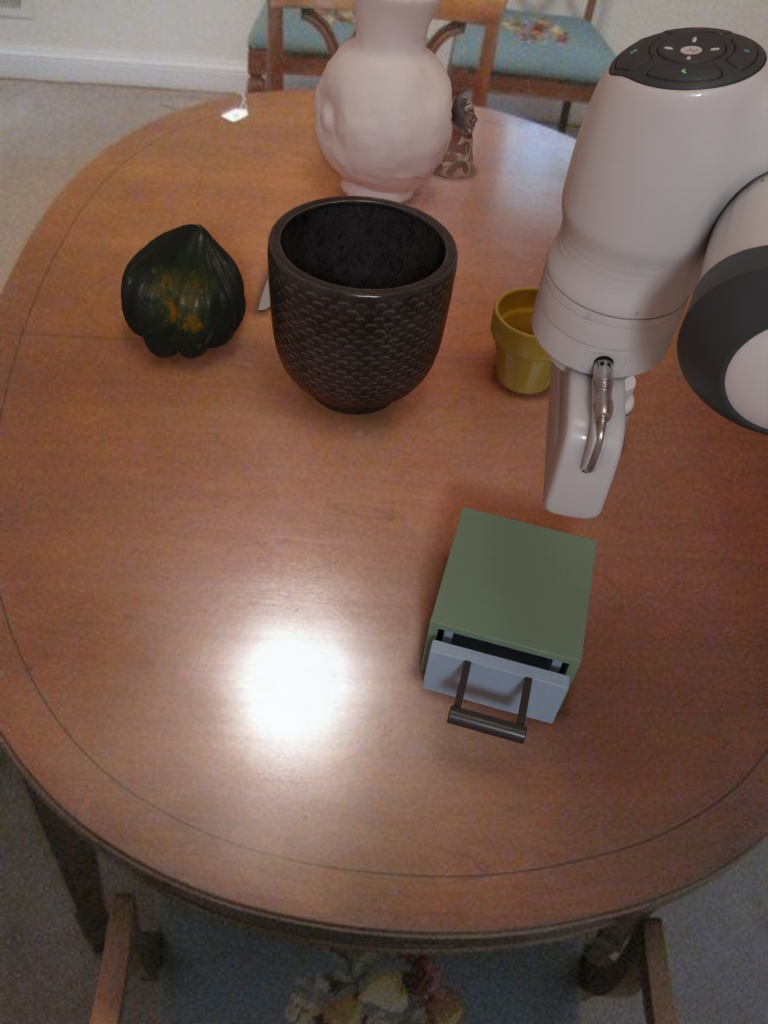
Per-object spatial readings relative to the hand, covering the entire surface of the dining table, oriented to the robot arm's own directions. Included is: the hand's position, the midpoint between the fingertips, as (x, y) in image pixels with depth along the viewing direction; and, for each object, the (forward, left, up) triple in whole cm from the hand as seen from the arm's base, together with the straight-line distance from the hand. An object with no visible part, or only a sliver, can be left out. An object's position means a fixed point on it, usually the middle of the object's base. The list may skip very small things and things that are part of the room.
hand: (557, 456), depth 65 cm
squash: (+45, -30, -22) cm, 58 cm away
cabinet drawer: (0, +6, -21) cm, 22 cm away
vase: (+33, -75, -22) cm, 85 cm away
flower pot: (+4, -37, -22) cm, 43 cm away
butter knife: (+40, -50, -22) cm, 68 cm away
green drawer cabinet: (0, +1, -22) cm, 22 cm away
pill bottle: (-6, -29, -22) cm, 37 cm away
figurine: (+24, -88, -22) cm, 94 cm away
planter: (+23, -28, -22) cm, 43 cm away
